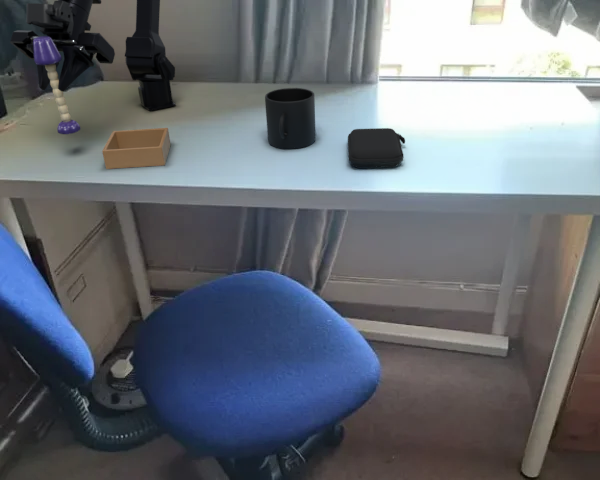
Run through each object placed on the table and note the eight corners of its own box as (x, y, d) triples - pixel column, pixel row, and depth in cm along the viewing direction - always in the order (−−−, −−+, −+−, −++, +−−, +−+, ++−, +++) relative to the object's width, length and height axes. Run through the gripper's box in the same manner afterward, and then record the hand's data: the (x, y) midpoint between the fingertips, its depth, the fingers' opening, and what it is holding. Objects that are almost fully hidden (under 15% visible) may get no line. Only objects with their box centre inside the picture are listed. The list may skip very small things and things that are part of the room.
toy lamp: (65, 136, 115) (40, 41, 106) (49, 132, 117) (22, 39, 108) (85, 128, 119) (62, 35, 109) (69, 124, 121) (45, 33, 111)
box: (116, 148, 124) (112, 131, 122) (170, 144, 124) (168, 127, 122) (106, 169, 115) (102, 151, 113) (165, 165, 115) (161, 147, 113)
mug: (258, 153, 119) (254, 105, 113) (275, 131, 128) (272, 86, 123) (306, 155, 117) (304, 107, 111) (320, 133, 126) (319, 88, 121)
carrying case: (409, 170, 109) (402, 140, 121) (410, 153, 107) (403, 125, 119) (348, 171, 110) (347, 141, 122) (348, 154, 108) (347, 126, 120)
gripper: (0, -19, 110) (-24, 63, 107) (90, -18, 104) (66, 67, 102) (41, 20, 120) (20, 95, 118) (125, 22, 115) (104, 101, 113)
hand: (51, 89), depth 112 cm, fingers closed on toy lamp, 4 cm apart
